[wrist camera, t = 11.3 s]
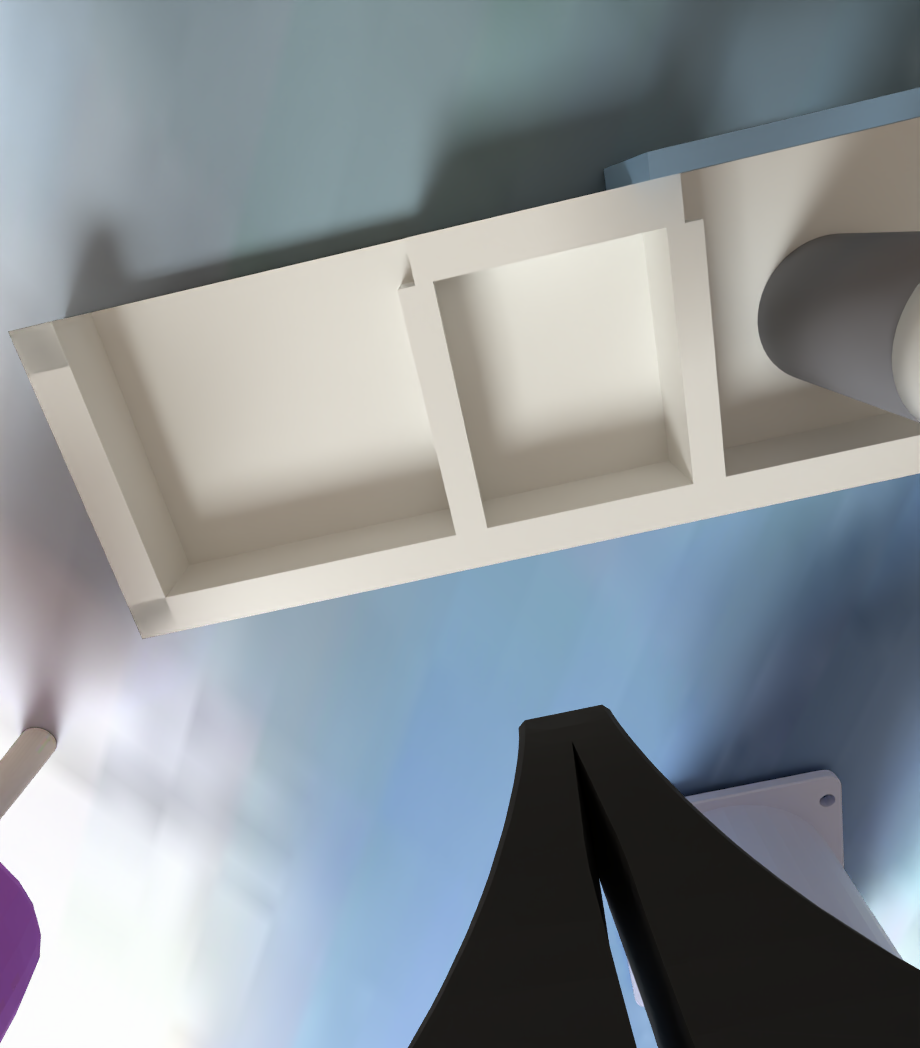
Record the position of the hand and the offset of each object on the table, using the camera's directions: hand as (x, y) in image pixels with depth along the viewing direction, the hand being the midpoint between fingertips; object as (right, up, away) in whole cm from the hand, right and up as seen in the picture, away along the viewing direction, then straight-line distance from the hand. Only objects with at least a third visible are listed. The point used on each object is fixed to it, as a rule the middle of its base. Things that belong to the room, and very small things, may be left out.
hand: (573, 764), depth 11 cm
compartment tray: (+1, +8, +8) cm, 11 cm away
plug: (+8, +9, +7) cm, 14 cm away
